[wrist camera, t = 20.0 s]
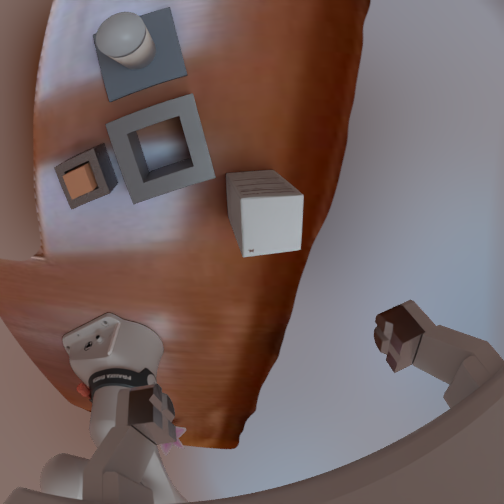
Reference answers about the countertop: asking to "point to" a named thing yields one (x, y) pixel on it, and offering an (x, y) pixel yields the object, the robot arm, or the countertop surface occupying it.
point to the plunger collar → (100, 170)
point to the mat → (158, 71)
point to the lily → (178, 444)
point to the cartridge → (126, 40)
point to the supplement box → (264, 212)
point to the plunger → (80, 180)
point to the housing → (168, 177)
